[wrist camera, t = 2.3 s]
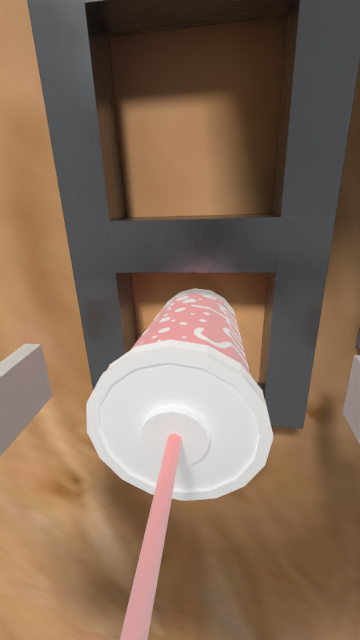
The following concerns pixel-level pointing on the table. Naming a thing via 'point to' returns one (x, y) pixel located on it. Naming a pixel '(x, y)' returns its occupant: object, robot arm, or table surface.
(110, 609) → the table surface
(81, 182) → the dark grey slotted frame
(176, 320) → the beverage cup
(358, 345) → the slate mat
